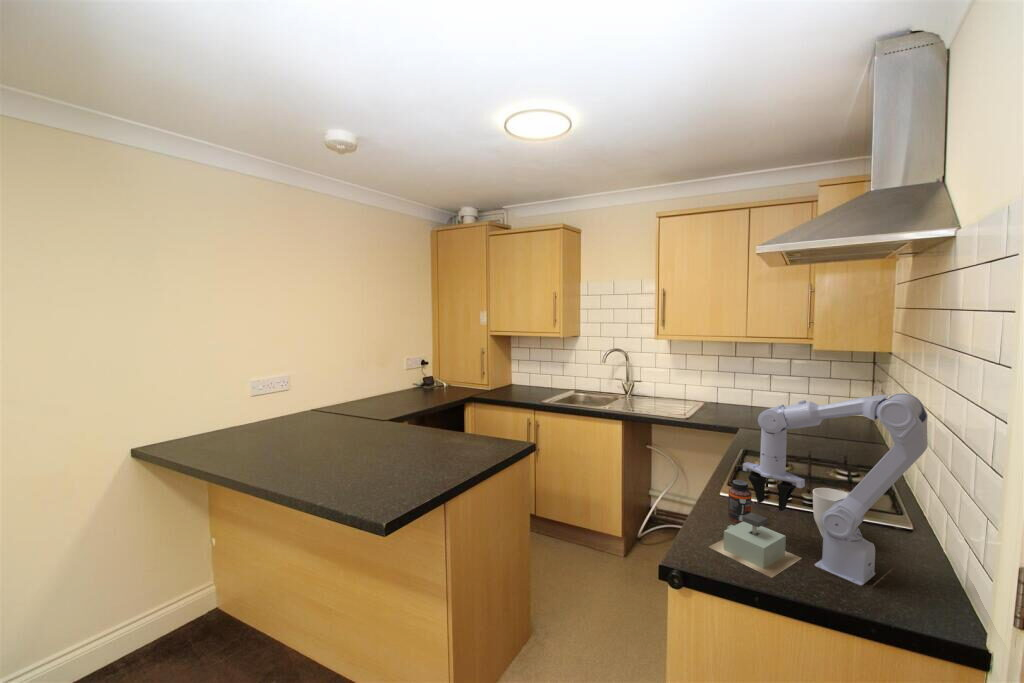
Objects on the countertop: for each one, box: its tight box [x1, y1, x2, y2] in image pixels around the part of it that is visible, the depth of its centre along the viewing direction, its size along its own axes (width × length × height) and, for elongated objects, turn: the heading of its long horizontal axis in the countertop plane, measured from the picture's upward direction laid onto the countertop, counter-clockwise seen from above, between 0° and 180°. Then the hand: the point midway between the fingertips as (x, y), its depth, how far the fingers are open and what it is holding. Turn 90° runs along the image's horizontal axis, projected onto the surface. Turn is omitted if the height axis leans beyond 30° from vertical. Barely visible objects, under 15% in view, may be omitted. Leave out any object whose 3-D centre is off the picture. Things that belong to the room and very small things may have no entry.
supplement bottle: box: [727, 479, 752, 524], centre depth 130 cm, size 6×6×11 cm
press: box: [723, 522, 787, 568], centre depth 113 cm, size 12×10×5 cm
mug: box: [812, 487, 849, 538], centre depth 120 cm, size 12×9×12 cm
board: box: [708, 538, 803, 579], centre depth 113 cm, size 16×14×1 cm
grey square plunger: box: [742, 511, 768, 536], centre depth 112 cm, size 4×4×6 cm
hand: (771, 505), depth 116 cm, fingers open, 5 cm apart
